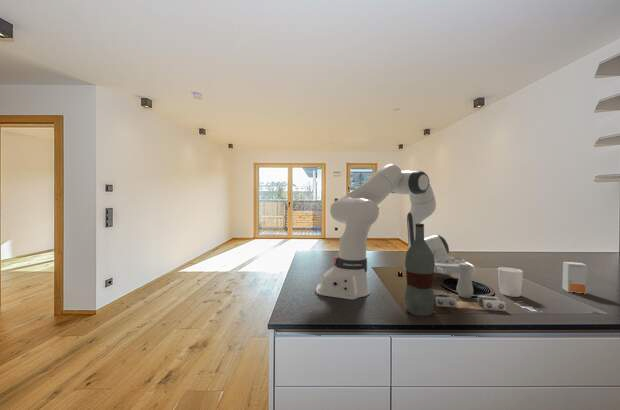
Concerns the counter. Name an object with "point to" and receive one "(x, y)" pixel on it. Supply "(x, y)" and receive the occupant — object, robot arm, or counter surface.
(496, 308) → the chain end
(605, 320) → the counter surface
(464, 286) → the salt shaker
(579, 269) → the skincare box
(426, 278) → the bottle
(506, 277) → the white cup
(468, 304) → the pad
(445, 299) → the chain end
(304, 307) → the counter surface
